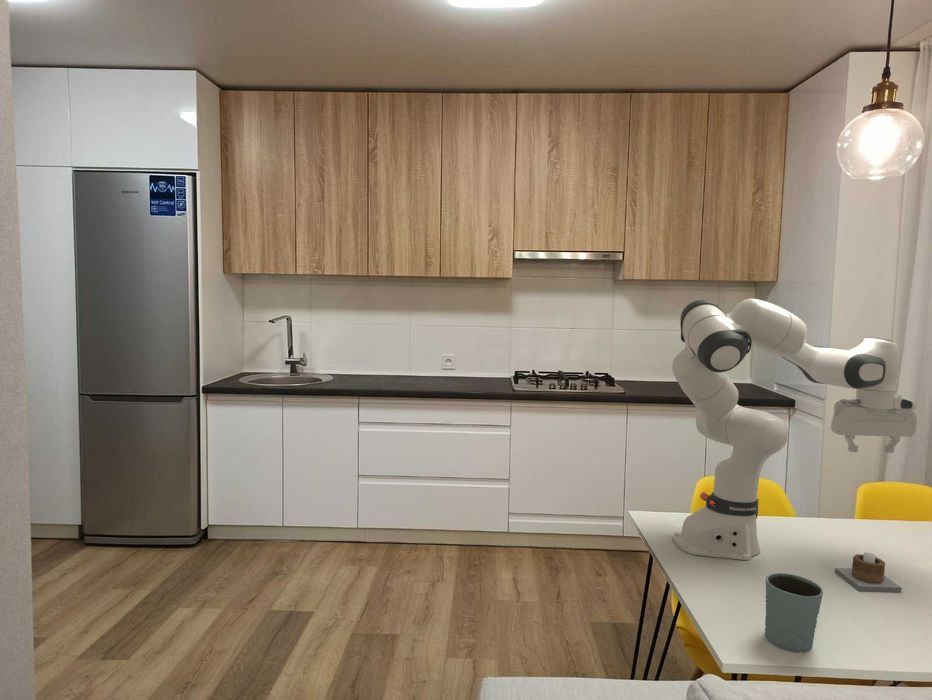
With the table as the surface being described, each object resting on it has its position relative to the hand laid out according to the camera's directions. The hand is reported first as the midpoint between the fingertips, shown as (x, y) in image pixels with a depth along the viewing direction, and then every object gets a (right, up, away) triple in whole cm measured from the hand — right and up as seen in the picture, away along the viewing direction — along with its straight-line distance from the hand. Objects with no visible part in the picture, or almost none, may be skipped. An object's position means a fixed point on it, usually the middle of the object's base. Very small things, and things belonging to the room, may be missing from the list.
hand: (870, 452), depth 166 cm
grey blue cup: (-41, -32, -39) cm, 65 cm away
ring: (-8, -29, -11) cm, 32 cm away
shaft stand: (-8, -30, -11) cm, 33 cm away
